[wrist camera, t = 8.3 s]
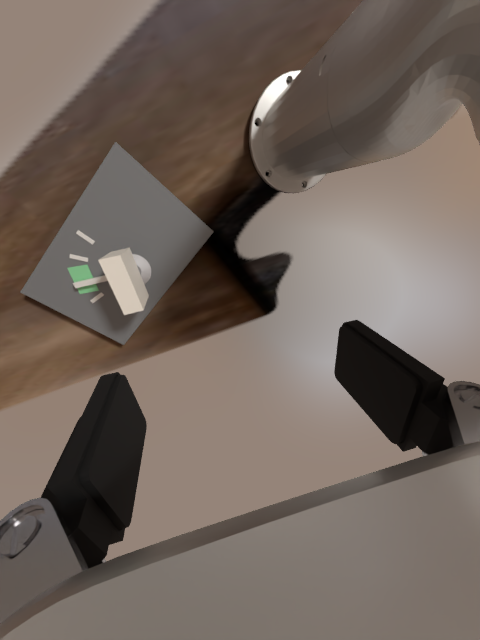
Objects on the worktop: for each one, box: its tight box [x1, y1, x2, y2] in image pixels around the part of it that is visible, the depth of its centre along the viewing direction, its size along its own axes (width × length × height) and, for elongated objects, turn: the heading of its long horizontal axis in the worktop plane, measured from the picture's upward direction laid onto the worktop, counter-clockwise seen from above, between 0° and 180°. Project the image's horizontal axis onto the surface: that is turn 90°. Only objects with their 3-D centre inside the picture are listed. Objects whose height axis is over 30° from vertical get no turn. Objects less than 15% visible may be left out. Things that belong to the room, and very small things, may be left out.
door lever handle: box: [73, 248, 149, 315], centre depth 27 cm, size 6×9×7 cm
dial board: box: [21, 142, 213, 345], centre depth 31 cm, size 22×14×2 cm, turn 137°
